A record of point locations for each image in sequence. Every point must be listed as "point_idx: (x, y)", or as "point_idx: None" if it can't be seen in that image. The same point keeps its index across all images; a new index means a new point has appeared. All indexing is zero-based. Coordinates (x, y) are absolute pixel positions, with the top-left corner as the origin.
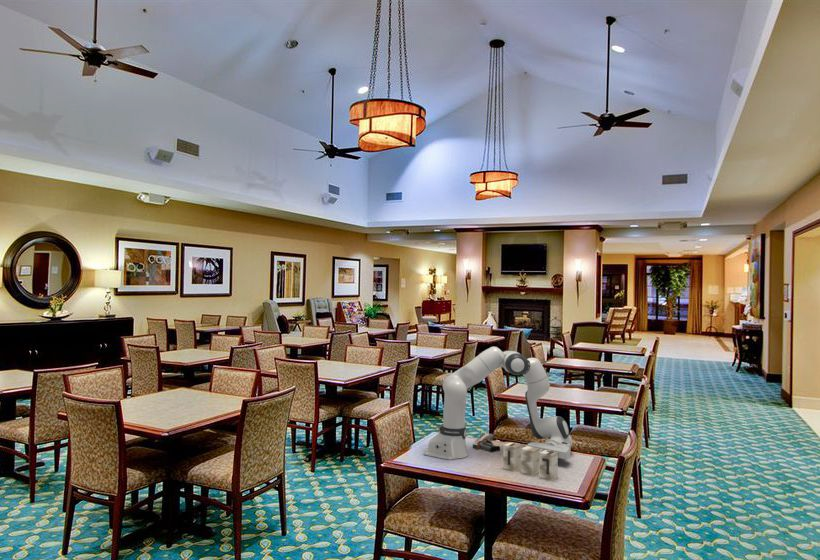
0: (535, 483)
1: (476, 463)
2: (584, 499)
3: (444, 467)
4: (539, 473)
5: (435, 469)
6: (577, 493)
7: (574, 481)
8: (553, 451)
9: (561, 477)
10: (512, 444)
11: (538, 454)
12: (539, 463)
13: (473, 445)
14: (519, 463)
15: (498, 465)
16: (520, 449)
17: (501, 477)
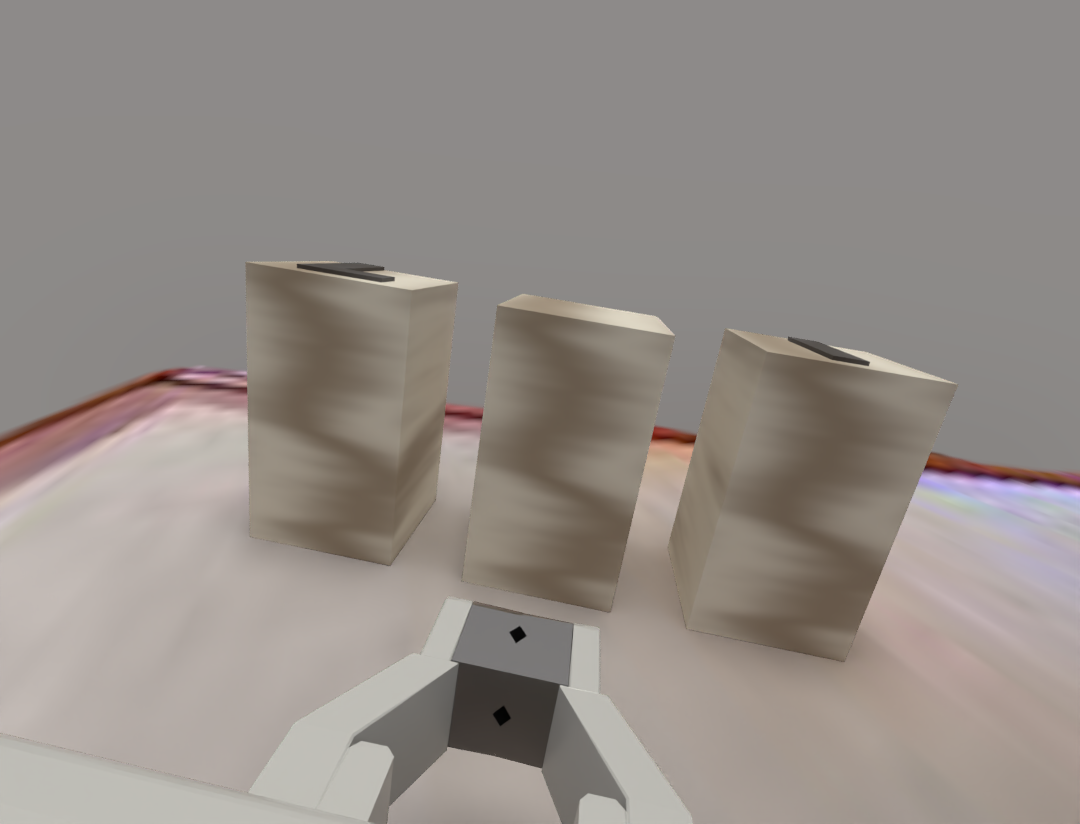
0: (444, 443)
1: (1054, 608)
2: (167, 371)
3: (1006, 505)
4: (437, 466)
5: (981, 482)
6: (178, 396)
7: (81, 498)
8: (300, 270)
9: (202, 541)
10: (824, 347)
11: (490, 376)
12: (446, 382)
13: None
14: (696, 548)
15: (908, 628)
16: (745, 408)
17: (663, 467)
